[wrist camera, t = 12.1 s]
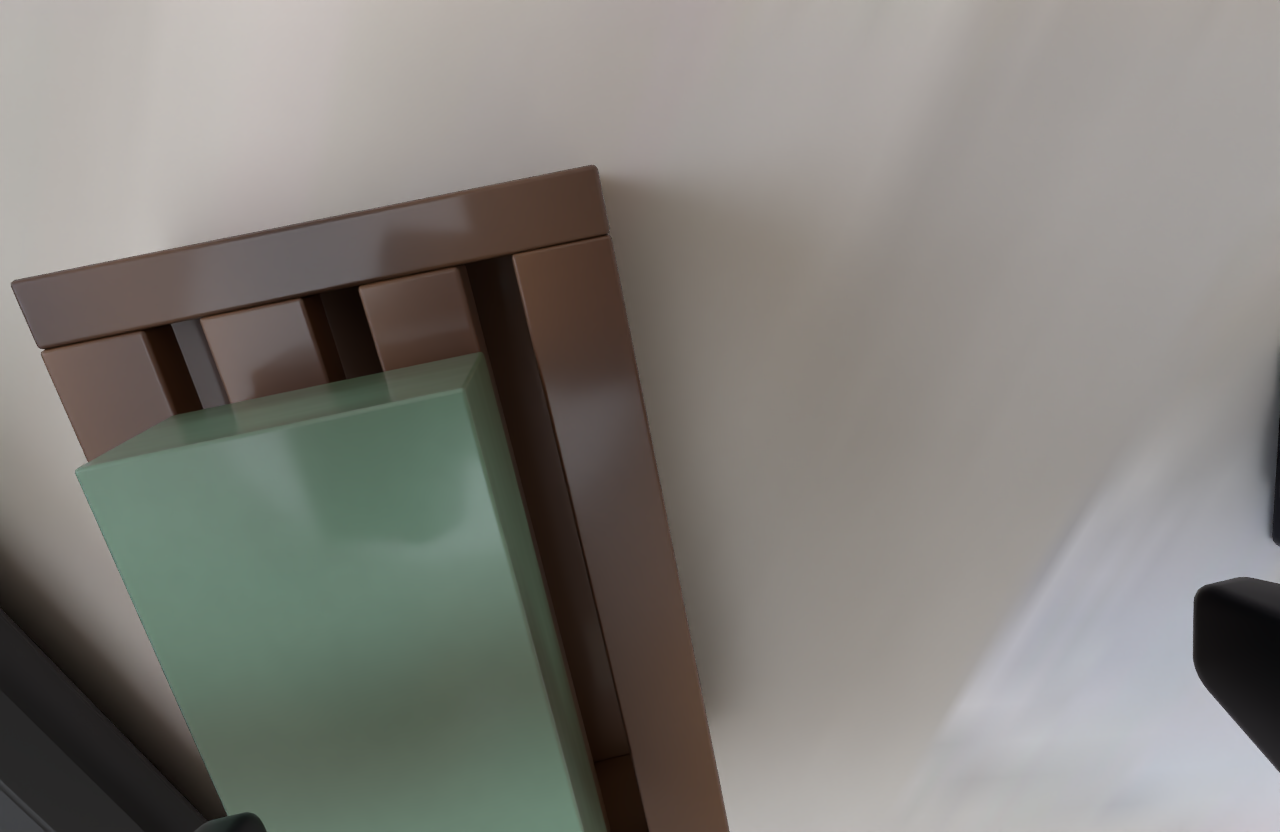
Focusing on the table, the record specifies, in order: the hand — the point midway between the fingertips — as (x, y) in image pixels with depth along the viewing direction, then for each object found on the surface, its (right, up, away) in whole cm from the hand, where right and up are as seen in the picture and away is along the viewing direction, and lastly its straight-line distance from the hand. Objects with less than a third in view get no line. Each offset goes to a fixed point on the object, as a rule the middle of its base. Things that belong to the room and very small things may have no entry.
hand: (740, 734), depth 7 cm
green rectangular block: (-5, -1, +8) cm, 9 cm away
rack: (-6, 0, +13) cm, 14 cm away
